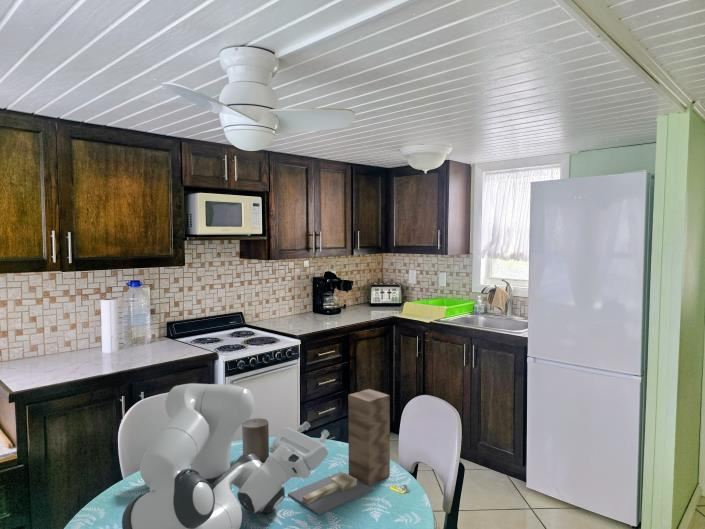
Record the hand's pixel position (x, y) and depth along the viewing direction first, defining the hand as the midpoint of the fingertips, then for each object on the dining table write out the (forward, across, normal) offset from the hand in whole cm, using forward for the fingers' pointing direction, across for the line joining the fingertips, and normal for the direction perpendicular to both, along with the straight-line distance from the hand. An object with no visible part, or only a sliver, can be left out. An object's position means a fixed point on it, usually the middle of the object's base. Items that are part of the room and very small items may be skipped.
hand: (317, 427), depth 149 cm
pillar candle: (-11, -38, -20) cm, 44 cm away
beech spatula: (-7, 0, -21) cm, 22 cm away
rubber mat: (-7, 0, -22) cm, 23 cm away
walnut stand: (+8, 0, -30) cm, 31 cm away
